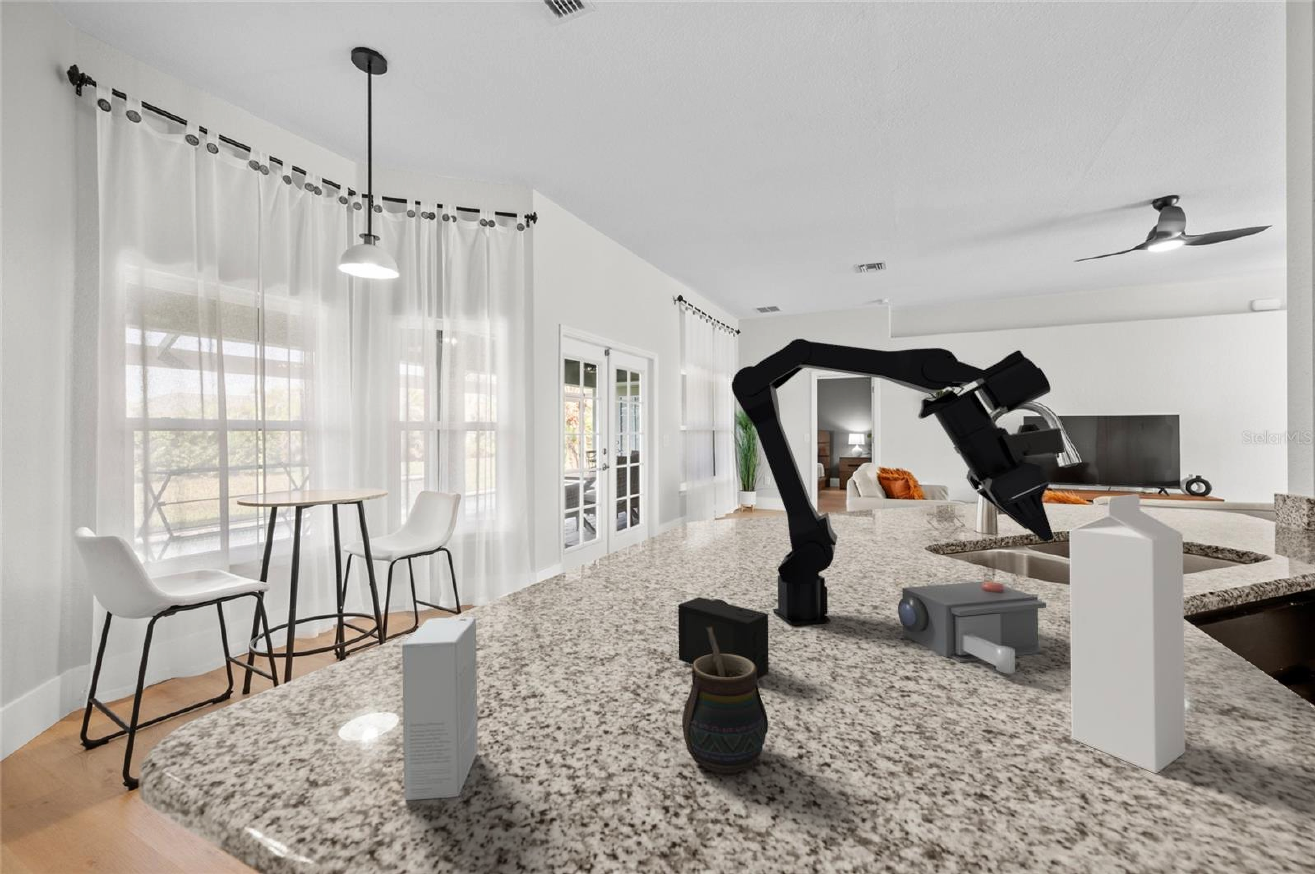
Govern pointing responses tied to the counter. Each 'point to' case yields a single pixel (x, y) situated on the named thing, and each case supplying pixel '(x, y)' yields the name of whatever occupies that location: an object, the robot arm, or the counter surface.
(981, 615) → the side hatch
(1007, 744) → the counter surface
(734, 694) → the mate gourd
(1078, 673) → the milk
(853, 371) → the robot arm
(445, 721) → the skincare box
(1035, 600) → the camera housing
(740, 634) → the digital camera
